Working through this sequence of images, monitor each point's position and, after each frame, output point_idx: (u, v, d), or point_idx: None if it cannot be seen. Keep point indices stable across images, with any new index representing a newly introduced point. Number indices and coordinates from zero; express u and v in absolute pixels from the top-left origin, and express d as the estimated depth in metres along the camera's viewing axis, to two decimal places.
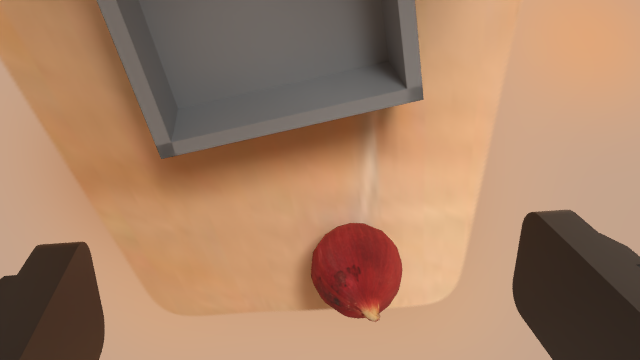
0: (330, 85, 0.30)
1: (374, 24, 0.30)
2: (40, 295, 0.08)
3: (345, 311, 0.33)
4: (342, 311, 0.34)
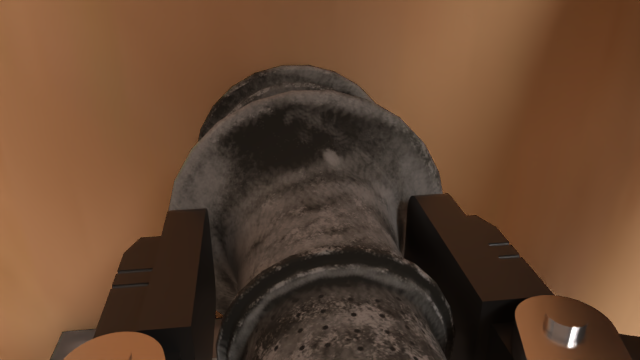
0: None
1: None
2: (189, 249, 0.09)
3: None
4: None
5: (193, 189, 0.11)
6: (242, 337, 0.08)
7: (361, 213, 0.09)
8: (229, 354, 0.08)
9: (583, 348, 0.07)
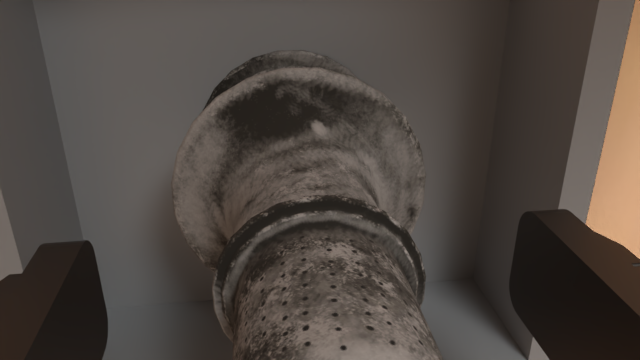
0: None
1: (464, 221, 0.18)
2: (45, 293, 0.08)
3: None
4: None
5: (194, 159, 0.12)
6: (234, 276, 0.09)
7: (345, 175, 0.10)
8: (223, 294, 0.09)
9: None
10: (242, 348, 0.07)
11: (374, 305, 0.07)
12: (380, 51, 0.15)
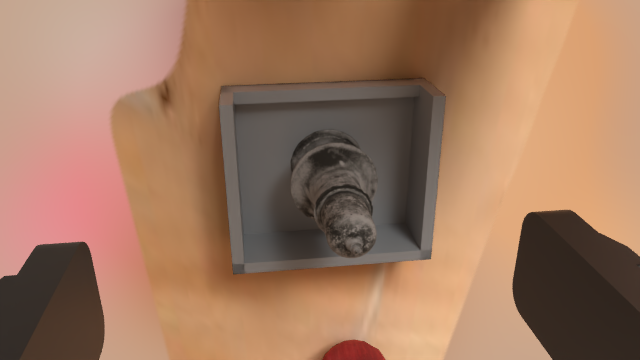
0: None
1: (400, 197, 0.42)
2: (40, 295, 0.08)
3: None
4: None
5: (299, 172, 0.36)
6: (321, 205, 0.32)
7: (350, 178, 0.34)
8: (317, 210, 0.33)
9: None
10: (327, 218, 0.31)
11: (357, 208, 0.30)
12: (363, 129, 0.39)
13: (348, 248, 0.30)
